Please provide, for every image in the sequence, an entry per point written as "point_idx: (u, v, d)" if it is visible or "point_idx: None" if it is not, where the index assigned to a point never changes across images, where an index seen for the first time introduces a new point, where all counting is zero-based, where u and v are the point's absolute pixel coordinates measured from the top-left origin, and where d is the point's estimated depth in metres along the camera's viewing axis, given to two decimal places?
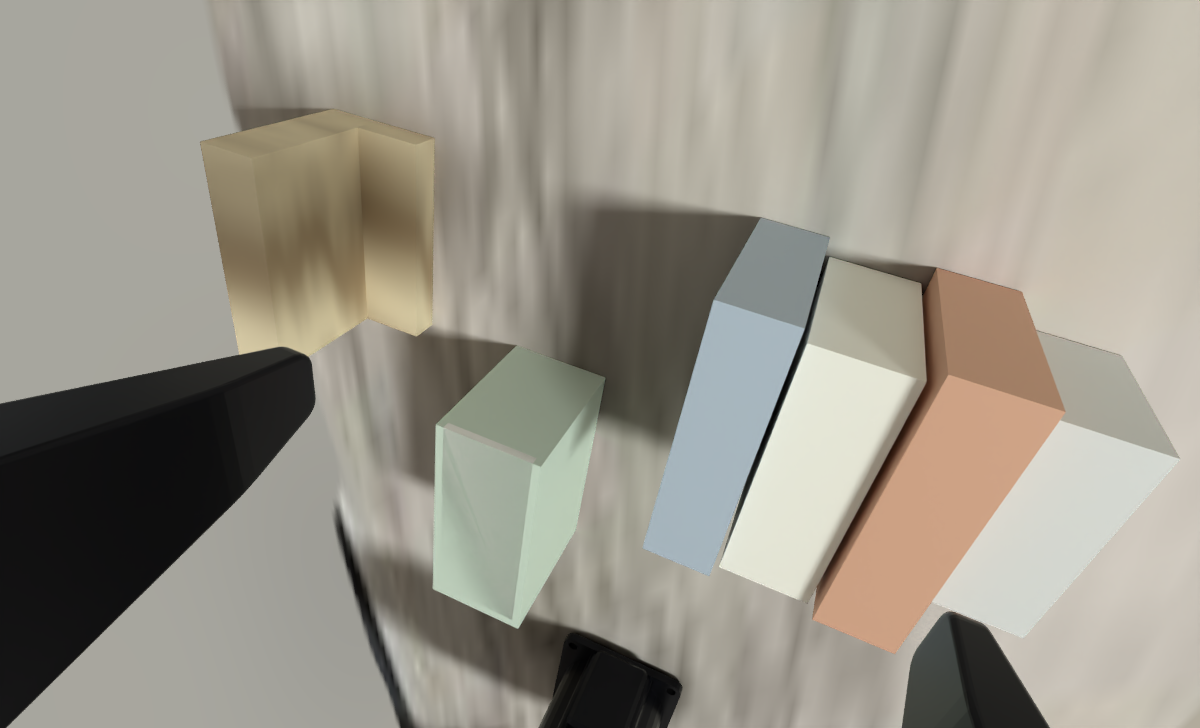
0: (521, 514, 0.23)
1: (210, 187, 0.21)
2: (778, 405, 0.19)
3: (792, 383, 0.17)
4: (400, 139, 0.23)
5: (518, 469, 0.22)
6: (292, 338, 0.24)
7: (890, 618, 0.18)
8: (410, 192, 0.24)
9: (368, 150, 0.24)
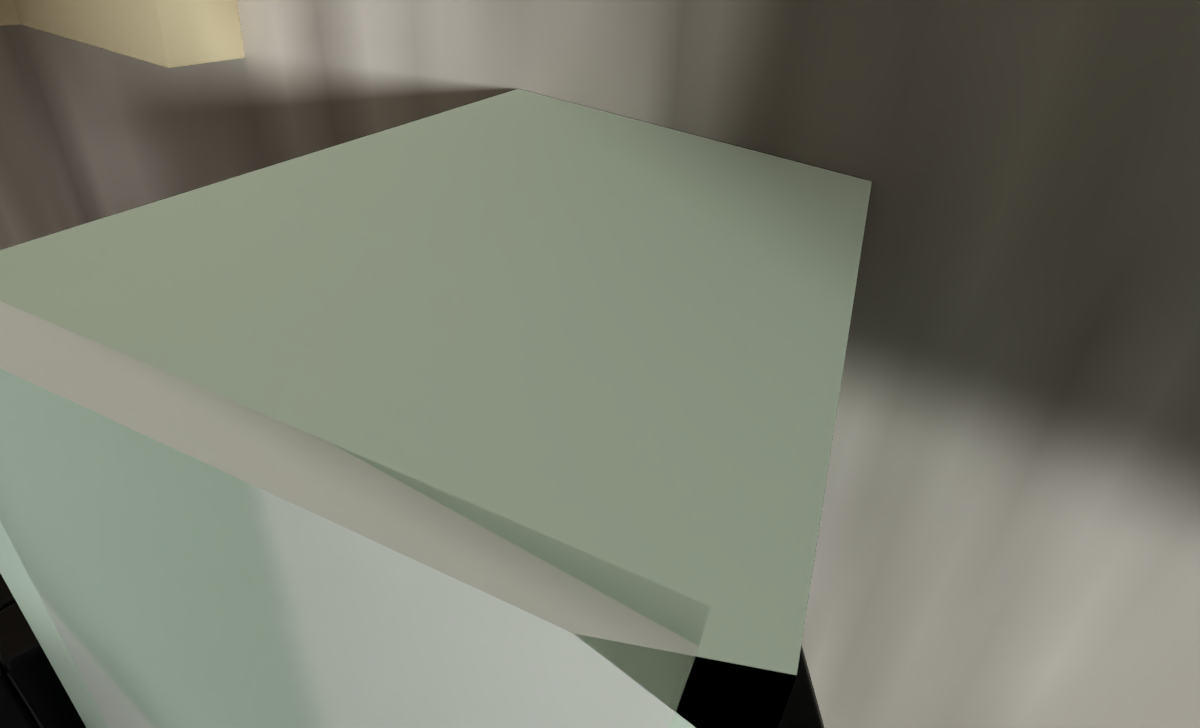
0: None
1: None
2: None
3: None
4: None
5: (523, 705, 0.02)
6: None
7: None
8: None
9: None
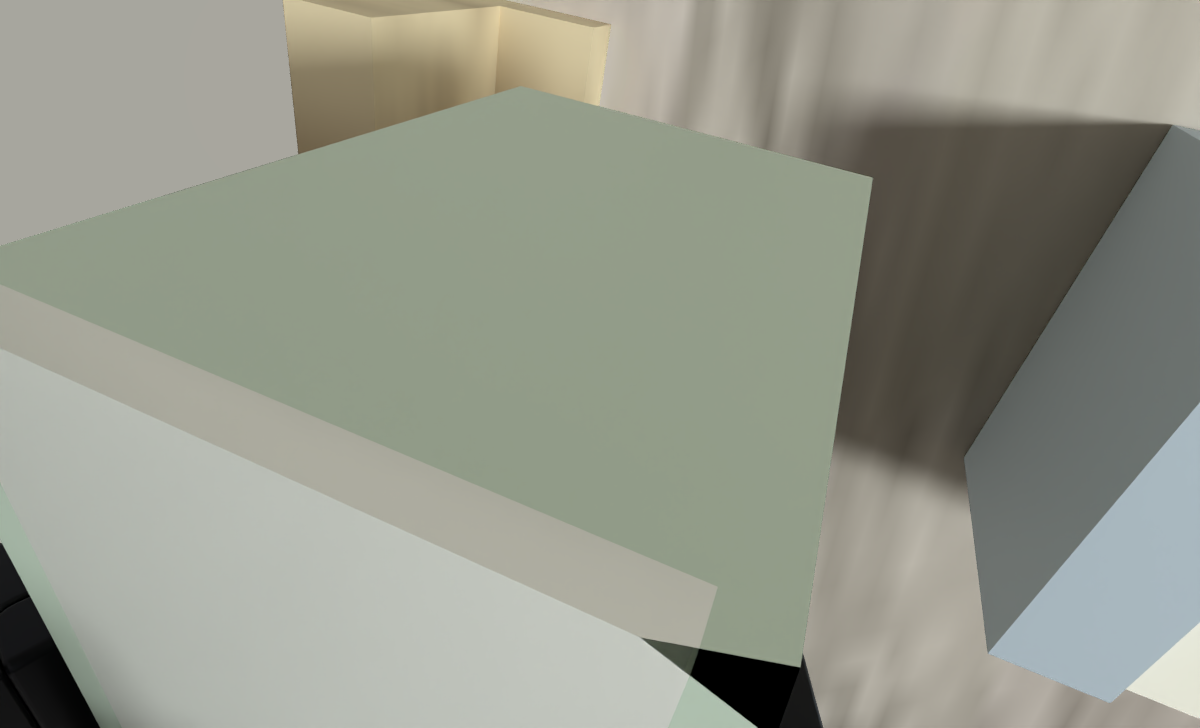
0: None
1: (295, 77, 0.13)
2: None
3: None
4: (568, 21, 0.15)
5: (532, 685, 0.02)
6: None
7: None
8: None
9: (513, 42, 0.16)
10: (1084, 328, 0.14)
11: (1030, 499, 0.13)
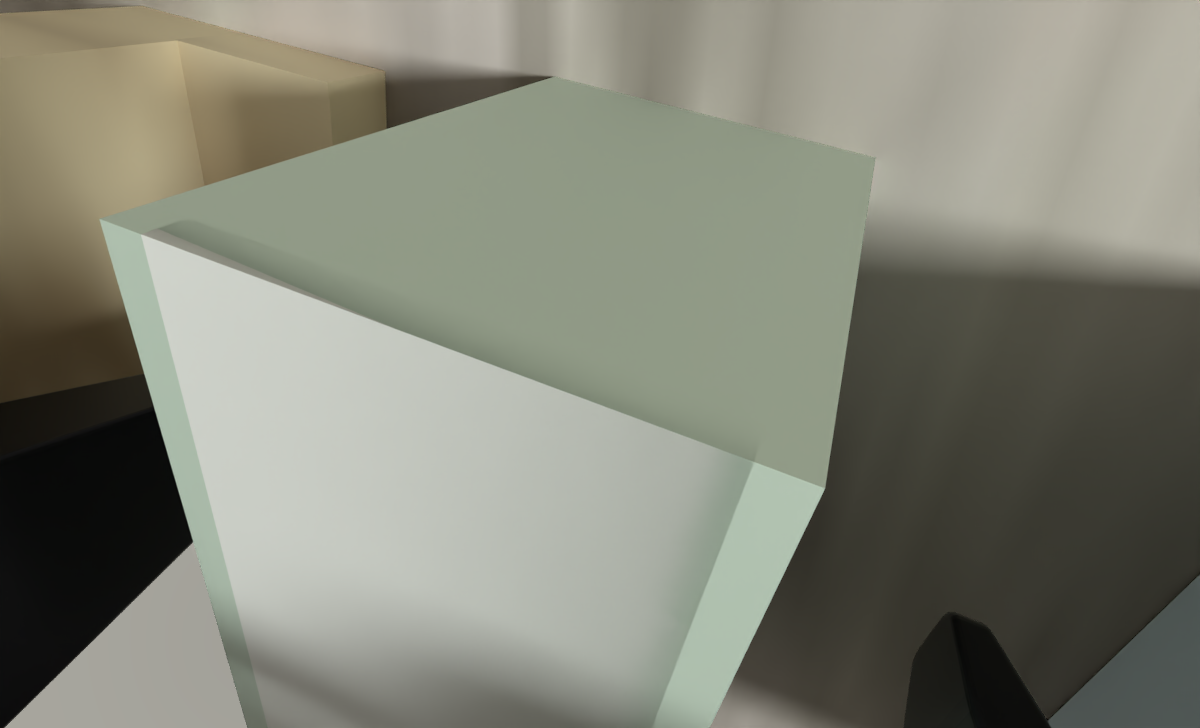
0: None
1: None
2: None
3: None
4: (287, 69, 0.08)
5: (624, 505, 0.03)
6: None
7: None
8: None
9: (211, 103, 0.09)
10: None
11: None
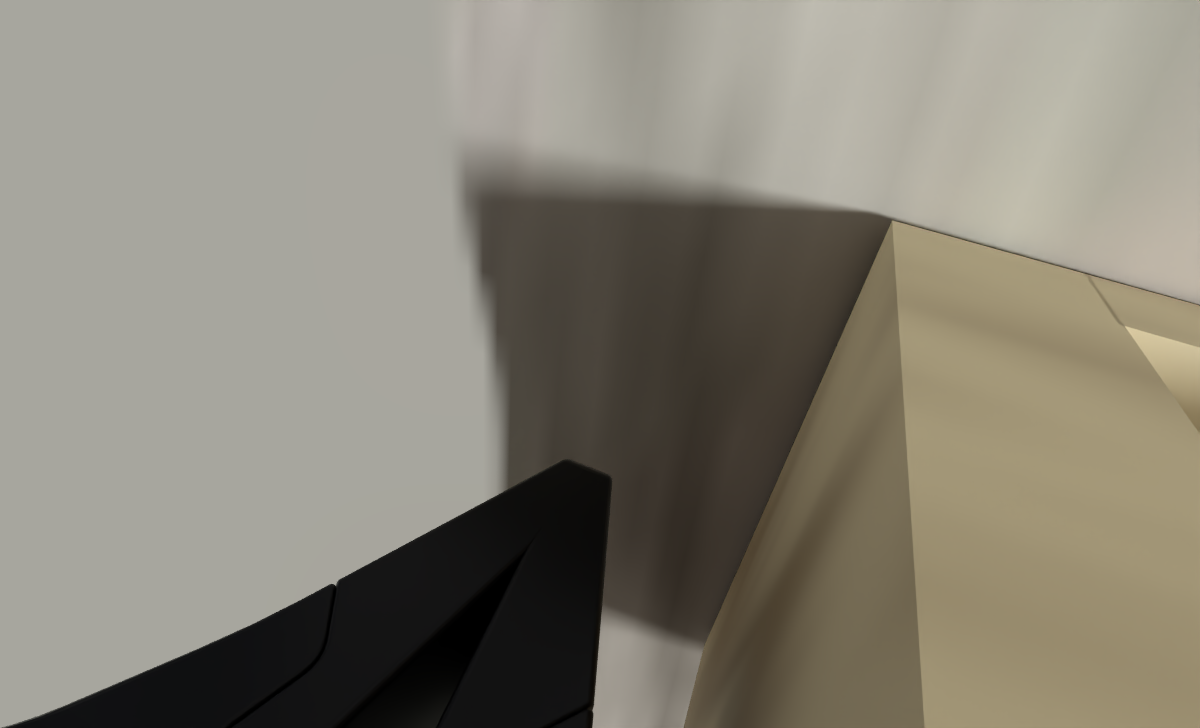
0: None
1: None
2: None
3: None
4: None
5: None
6: None
7: None
8: None
9: None
10: None
11: None
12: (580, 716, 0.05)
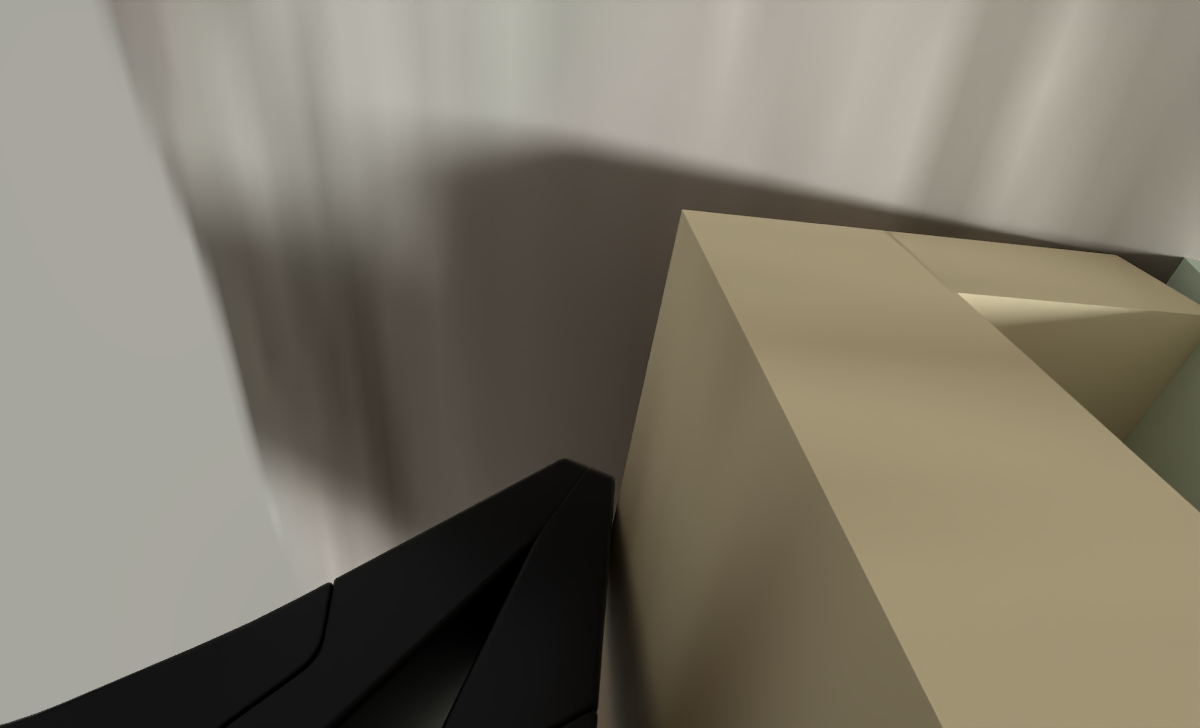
0: None
1: None
2: None
3: None
4: (1146, 306, 0.06)
5: None
6: None
7: None
8: None
9: None
10: None
11: None
12: (584, 718, 0.05)
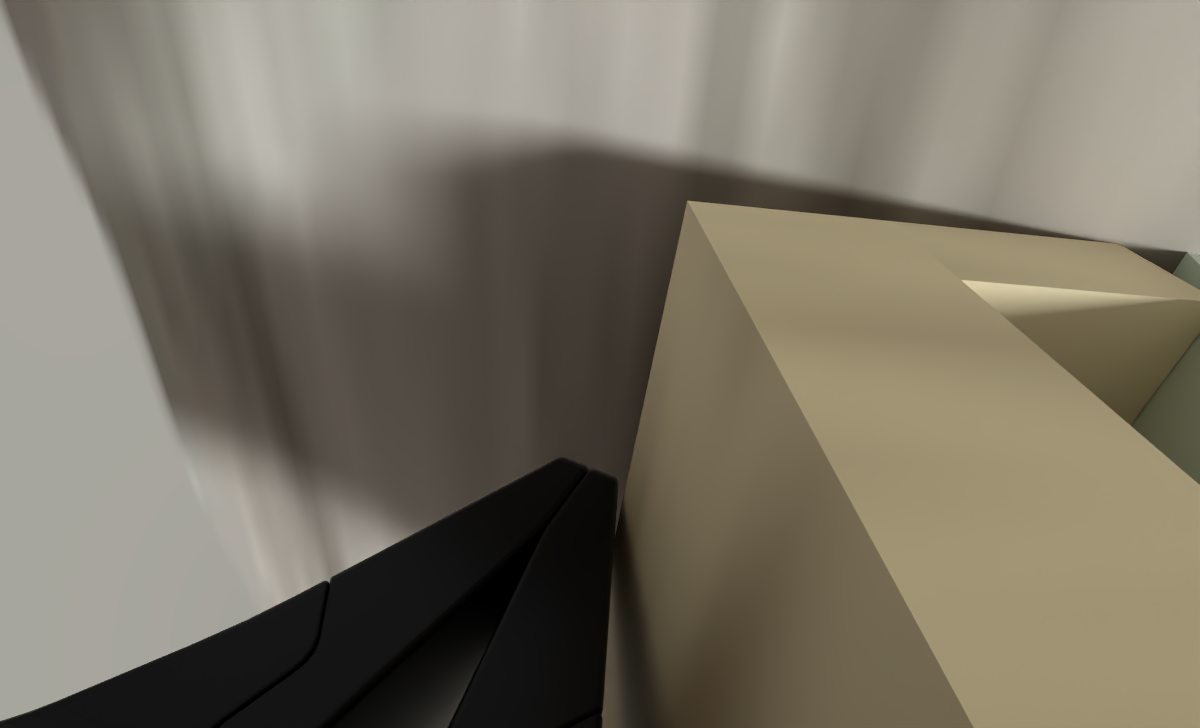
0: None
1: None
2: None
3: None
4: (1148, 292, 0.06)
5: None
6: None
7: None
8: None
9: None
10: None
11: None
12: (589, 721, 0.05)
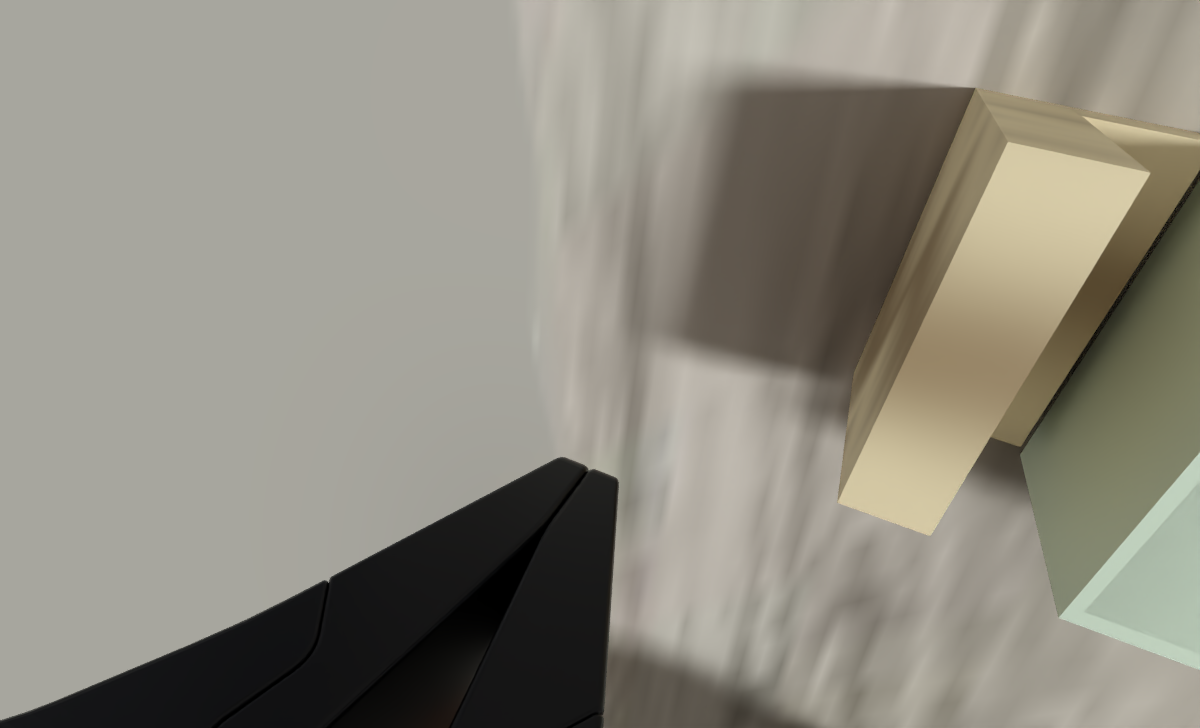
0: None
1: (974, 229, 0.11)
2: None
3: None
4: (1178, 134, 0.13)
5: None
6: None
7: None
8: (1149, 225, 0.14)
9: None
10: None
11: None
12: (590, 721, 0.05)
